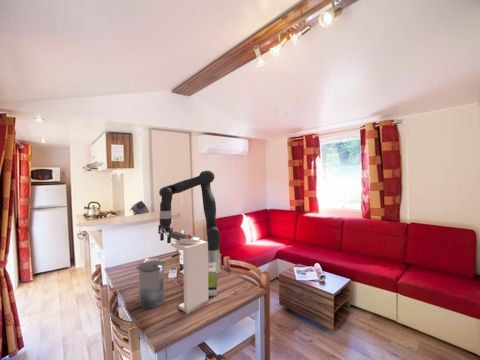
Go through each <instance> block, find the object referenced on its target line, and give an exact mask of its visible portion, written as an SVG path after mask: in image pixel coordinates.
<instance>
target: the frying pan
mask: <svg viewBox="0 0 480 360" xmlns="http://www.w3.org/2000/svg"><path fill="white" fill-rule="evenodd" d="M179 253H180V252H179ZM179 253H176V254H173V255H171V256H169V257H166V258H163V259H160V258H159V257H157V256H156V257H153V256H152V257H148V258H145V259H143V260H142V264H143V263H145V262H149V261H162V262H164V261H167V260H169V259H172V258H175V257H178V256H180V255H179Z"/></svg>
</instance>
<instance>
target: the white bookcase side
mask: <svg viewBox="0 0 480 360" xmlns="http://www.w3.org/2000/svg"><path fill="white" fill-rule="evenodd" d="M170 247H173V248H175V249H177V250H181V251H182V252H183V254H182V255H183V260H182V261H183V267H182V268H183V302H182V303H180V304H178V308H179V309H180V310H181V311H183V312H185V313H186V314H190V313H191V312H193V311H196V310H197V309H199V308H201V307H203V306H204V305H207V304H208V303H209V297H210V296H208V242H207V240H206V241H205V240H203V239H200V243H198V244H195V245H181V244H180V241H179V240H176V241H171V243H170Z"/></svg>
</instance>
